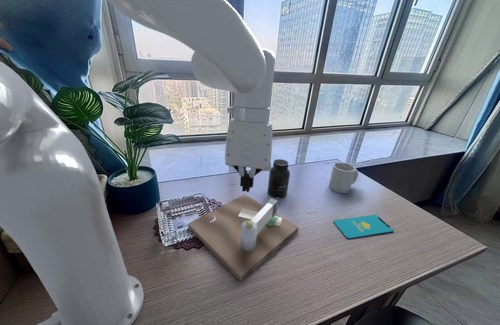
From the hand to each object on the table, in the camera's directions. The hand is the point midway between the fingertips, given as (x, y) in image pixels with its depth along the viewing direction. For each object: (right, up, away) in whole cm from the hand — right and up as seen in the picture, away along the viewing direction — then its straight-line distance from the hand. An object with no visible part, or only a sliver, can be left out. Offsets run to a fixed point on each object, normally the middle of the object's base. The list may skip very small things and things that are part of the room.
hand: (246, 188), depth 52 cm
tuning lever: (+3, -11, +2) cm, 12 cm away
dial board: (-1, -12, +5) cm, 13 cm away
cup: (+35, -3, +27) cm, 44 cm away
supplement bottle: (+10, -4, +22) cm, 25 cm away
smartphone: (+33, -12, +8) cm, 36 cm away
